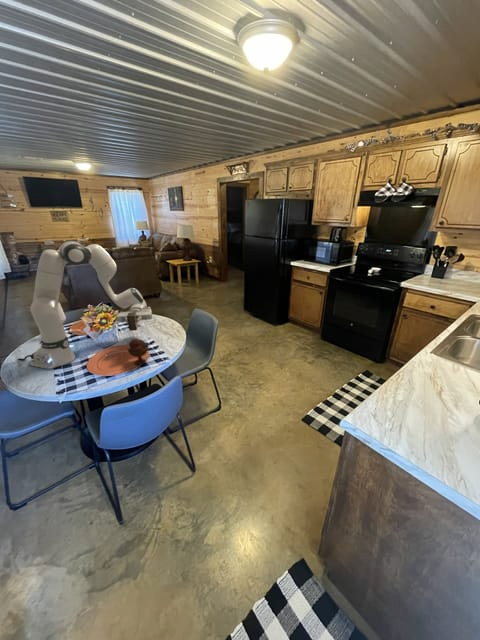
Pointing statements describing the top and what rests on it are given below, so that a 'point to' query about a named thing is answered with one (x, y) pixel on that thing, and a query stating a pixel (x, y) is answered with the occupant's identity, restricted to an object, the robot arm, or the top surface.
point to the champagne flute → (61, 315)
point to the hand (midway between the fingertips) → (132, 321)
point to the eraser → (132, 321)
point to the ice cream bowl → (138, 350)
